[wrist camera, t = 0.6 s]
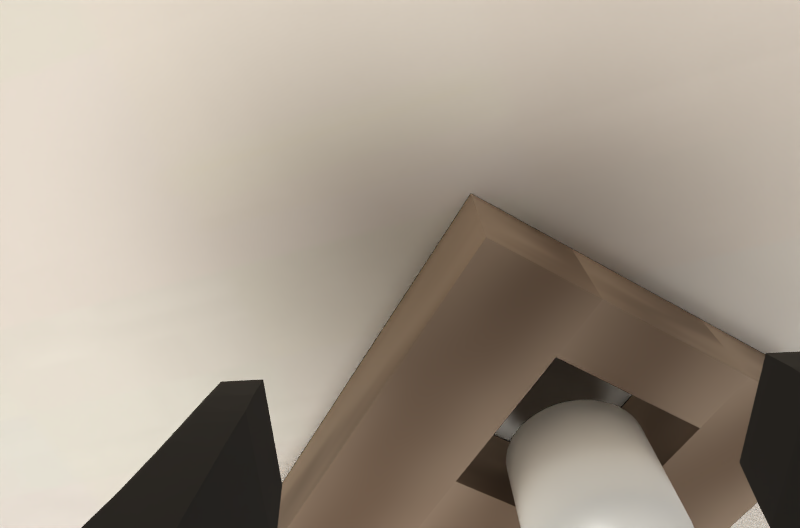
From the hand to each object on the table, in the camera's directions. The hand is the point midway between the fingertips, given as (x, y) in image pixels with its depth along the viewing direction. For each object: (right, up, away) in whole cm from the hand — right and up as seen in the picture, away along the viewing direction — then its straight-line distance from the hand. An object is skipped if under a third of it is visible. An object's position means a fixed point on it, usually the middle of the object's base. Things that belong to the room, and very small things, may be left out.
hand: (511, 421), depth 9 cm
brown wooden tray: (+1, -5, +13) cm, 14 cm away
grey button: (+3, -3, +9) cm, 10 cm away
